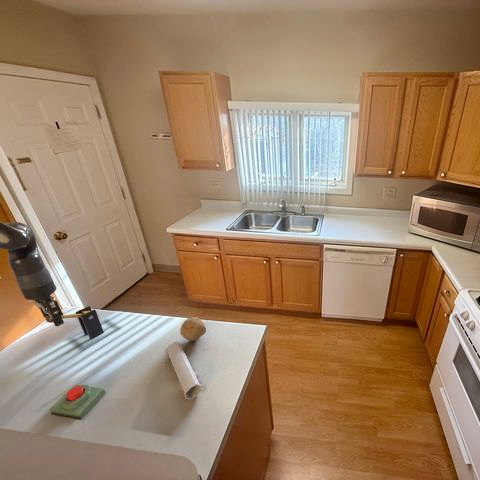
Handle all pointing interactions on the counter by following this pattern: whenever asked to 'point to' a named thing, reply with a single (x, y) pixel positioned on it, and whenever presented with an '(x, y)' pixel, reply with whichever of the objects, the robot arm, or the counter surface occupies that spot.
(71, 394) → the button
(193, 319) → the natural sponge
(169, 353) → the tube
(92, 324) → the bracket
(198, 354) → the counter surface
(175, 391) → the counter surface
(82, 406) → the button block
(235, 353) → the counter surface
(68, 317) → the switch lever
